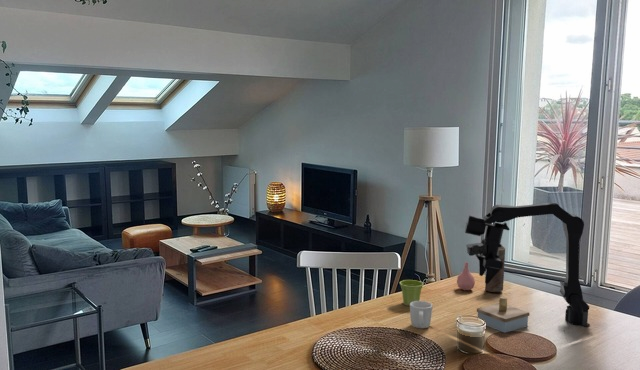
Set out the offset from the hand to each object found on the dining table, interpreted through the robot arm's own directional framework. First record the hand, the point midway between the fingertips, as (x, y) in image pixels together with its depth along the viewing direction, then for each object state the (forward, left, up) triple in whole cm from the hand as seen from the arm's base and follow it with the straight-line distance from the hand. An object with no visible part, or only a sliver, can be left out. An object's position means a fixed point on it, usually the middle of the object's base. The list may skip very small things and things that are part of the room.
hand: (483, 279), depth 196 cm
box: (-10, +1, -14) cm, 18 cm away
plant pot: (+25, +13, -15) cm, 32 cm away
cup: (+4, +27, -15) cm, 31 cm away
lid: (-10, +1, -10) cm, 14 cm away
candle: (+19, -29, -15) cm, 38 cm away
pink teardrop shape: (+27, -20, -15) cm, 37 cm away
